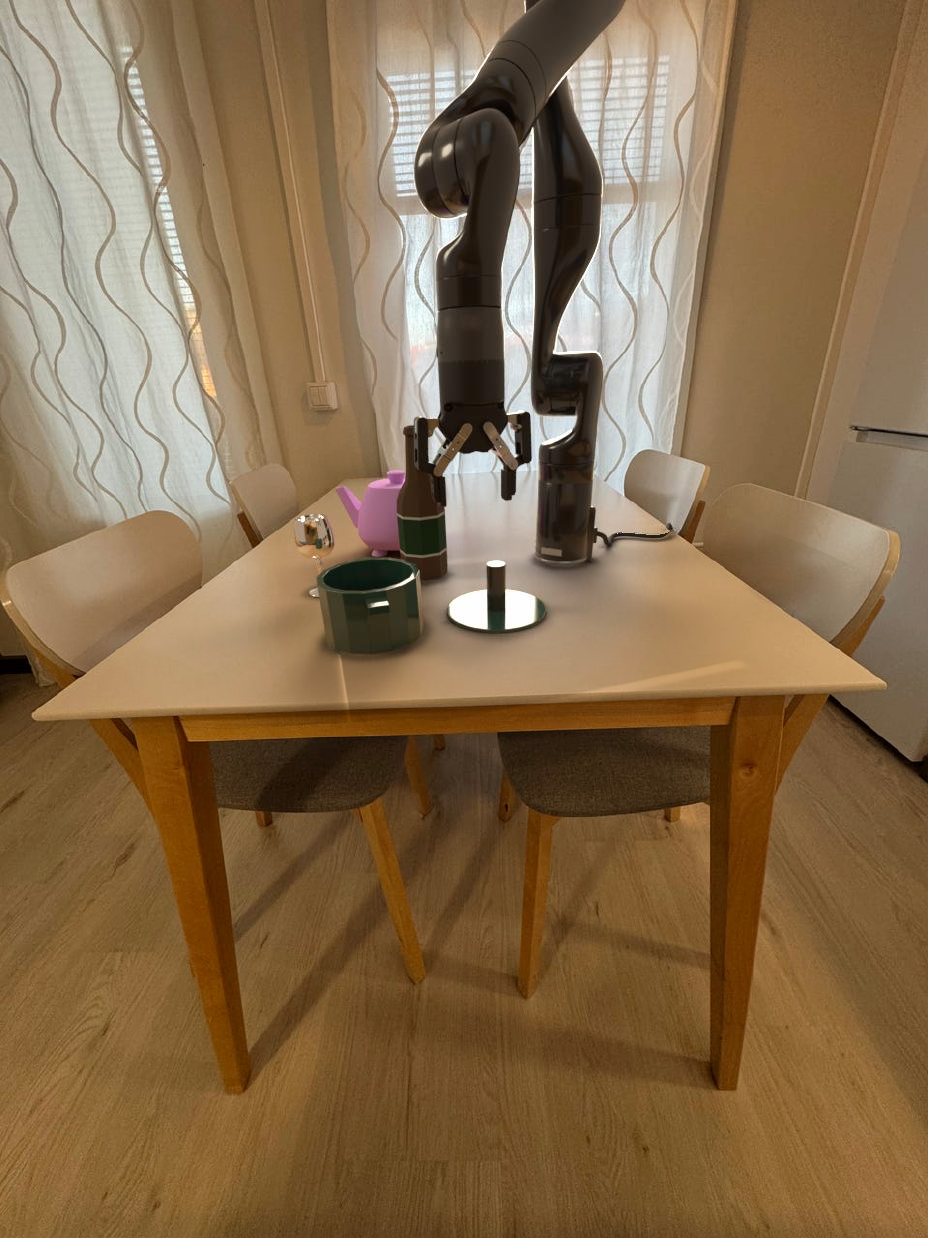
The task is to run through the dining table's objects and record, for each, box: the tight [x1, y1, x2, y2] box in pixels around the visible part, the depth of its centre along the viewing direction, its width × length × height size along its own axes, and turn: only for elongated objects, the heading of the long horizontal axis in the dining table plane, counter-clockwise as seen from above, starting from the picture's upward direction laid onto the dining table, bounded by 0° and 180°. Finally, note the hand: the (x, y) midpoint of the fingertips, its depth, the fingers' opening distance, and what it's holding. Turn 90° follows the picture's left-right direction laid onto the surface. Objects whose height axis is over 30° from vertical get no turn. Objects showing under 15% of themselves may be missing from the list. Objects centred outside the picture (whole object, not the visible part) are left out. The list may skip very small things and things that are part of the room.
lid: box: [447, 560, 547, 634], centre depth 69 cm, size 14×14×8 cm
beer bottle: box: [397, 424, 448, 582], centre depth 80 cm, size 8×8×24 cm
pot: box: [315, 556, 425, 655], centre depth 64 cm, size 13×18×8 cm
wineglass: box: [294, 513, 335, 598], centre depth 78 cm, size 6×6×12 cm
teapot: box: [335, 469, 406, 558], centre depth 98 cm, size 20×20×15 cm
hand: (474, 502), depth 63 cm, fingers open, 8 cm apart
